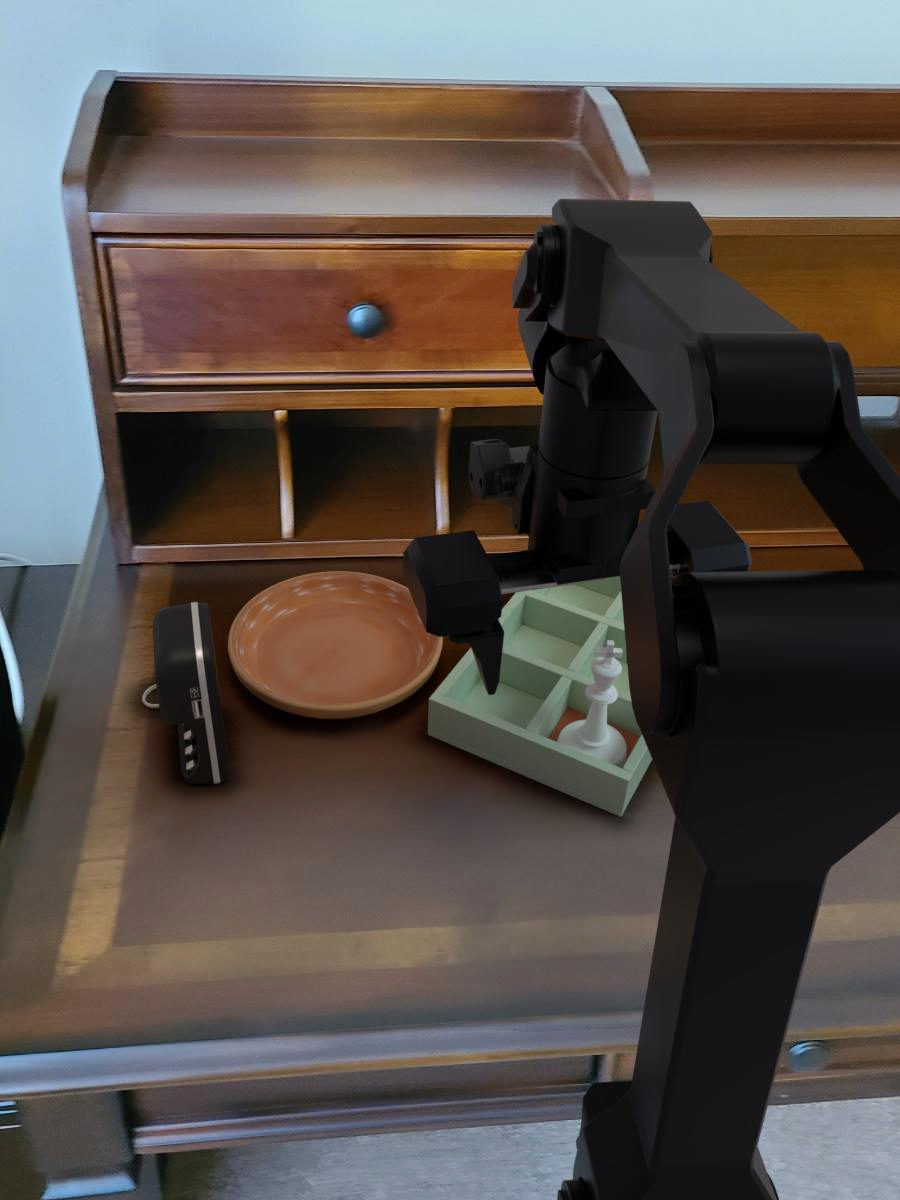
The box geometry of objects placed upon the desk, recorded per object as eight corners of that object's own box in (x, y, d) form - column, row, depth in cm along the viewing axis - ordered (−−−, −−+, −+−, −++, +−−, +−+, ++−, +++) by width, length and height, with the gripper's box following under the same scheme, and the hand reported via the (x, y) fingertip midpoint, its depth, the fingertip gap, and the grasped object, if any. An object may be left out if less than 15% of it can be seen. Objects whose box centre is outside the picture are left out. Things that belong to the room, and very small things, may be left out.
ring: (151, 675, 79) (187, 678, 78) (156, 687, 79) (191, 690, 78) (133, 699, 77) (169, 703, 76) (137, 711, 77) (174, 715, 76)
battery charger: (168, 721, 76) (146, 596, 69) (222, 713, 77) (206, 589, 70) (173, 795, 71) (149, 667, 64) (231, 786, 72) (214, 659, 64)
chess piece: (630, 779, 72) (654, 670, 66) (558, 776, 72) (575, 667, 66) (622, 727, 76) (644, 619, 70) (553, 724, 76) (569, 616, 70)
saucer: (298, 577, 90) (296, 548, 88) (473, 632, 85) (475, 602, 83) (188, 696, 78) (183, 665, 76) (384, 767, 74) (384, 736, 72)
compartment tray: (621, 817, 71) (629, 781, 69) (427, 734, 76) (428, 698, 74) (719, 634, 86) (728, 600, 84) (552, 576, 91) (556, 542, 89)
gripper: (689, 367, 63) (648, 579, 73) (380, 396, 59) (380, 618, 68) (785, 461, 55) (725, 687, 64) (433, 503, 50) (425, 739, 60)
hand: (561, 677), depth 64 cm, fingers open, 9 cm apart
